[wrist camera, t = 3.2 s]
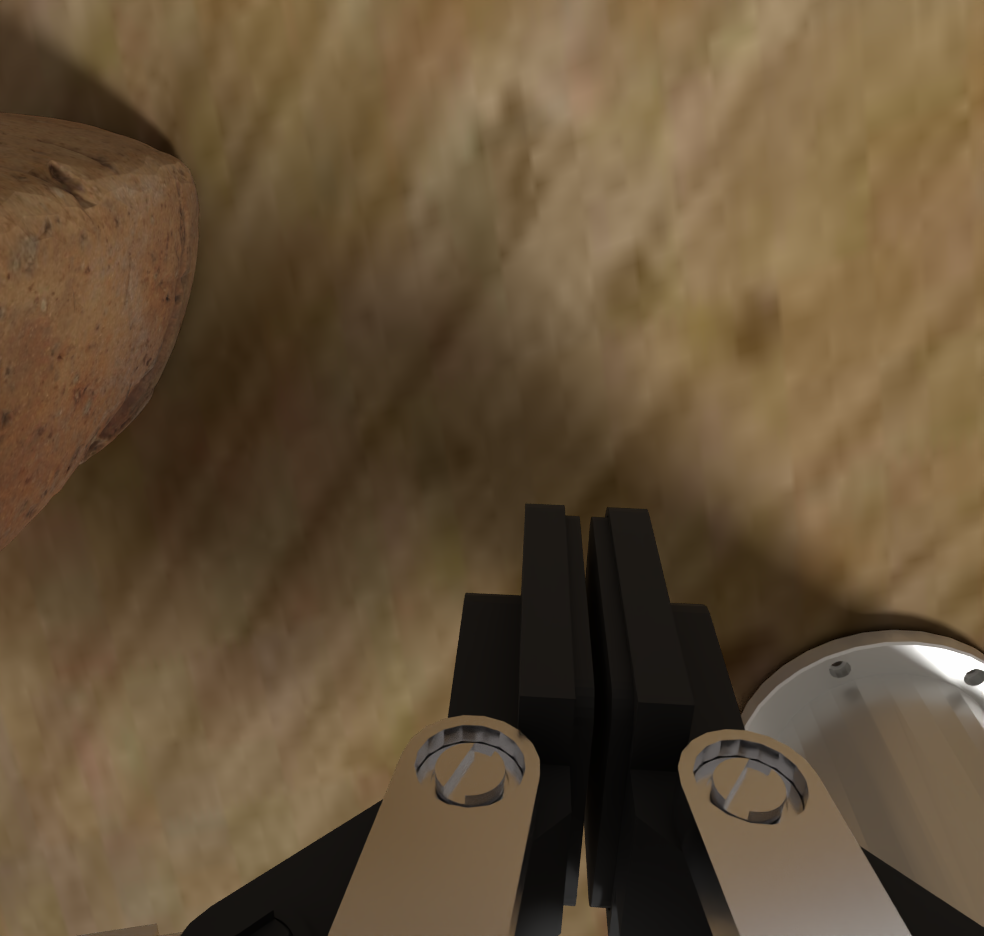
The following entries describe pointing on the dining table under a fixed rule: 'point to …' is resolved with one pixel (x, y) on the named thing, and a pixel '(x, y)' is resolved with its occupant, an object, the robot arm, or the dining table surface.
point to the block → (82, 295)
